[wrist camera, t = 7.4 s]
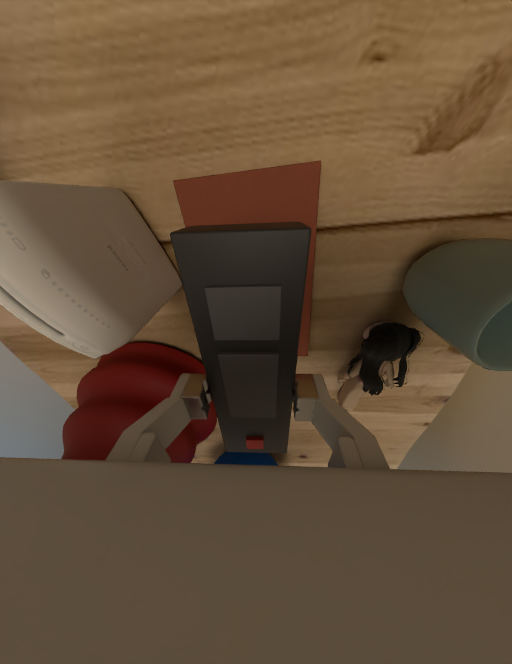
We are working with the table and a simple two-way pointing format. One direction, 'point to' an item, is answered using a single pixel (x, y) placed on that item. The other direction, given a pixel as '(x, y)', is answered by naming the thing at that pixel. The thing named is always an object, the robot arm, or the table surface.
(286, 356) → the remote
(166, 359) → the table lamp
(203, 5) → the table surface
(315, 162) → the mat
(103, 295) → the photo printer
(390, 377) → the toy figure
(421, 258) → the cup
